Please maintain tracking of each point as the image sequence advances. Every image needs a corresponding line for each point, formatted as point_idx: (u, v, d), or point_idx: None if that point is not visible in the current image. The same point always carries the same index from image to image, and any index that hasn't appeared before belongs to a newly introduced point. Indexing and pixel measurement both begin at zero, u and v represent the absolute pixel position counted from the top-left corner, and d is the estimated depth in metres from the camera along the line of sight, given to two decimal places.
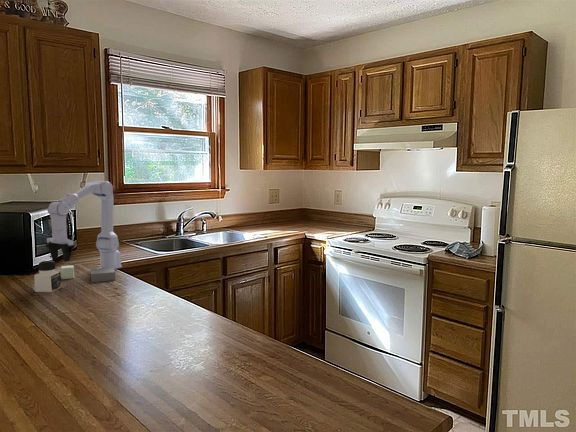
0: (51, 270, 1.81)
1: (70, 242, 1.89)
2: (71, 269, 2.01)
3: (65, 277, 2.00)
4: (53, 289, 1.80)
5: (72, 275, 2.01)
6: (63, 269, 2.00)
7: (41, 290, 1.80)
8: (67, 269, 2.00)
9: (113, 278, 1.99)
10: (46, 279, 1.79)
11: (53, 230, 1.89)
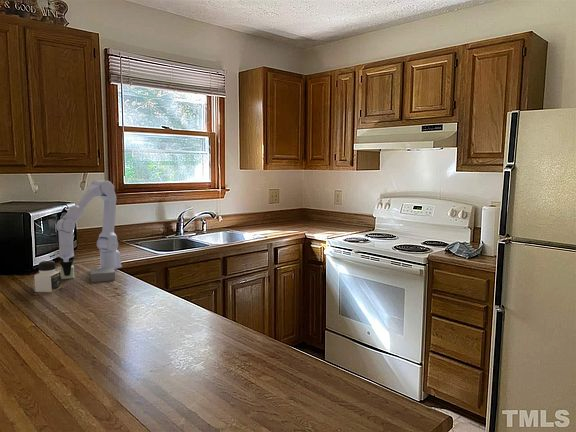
0: (51, 270, 1.81)
1: (64, 259, 1.95)
2: (71, 269, 2.01)
3: (65, 277, 2.00)
4: (53, 289, 1.80)
5: (72, 275, 2.01)
6: None
7: (41, 290, 1.80)
8: None
9: (113, 278, 1.99)
10: (46, 279, 1.79)
11: (59, 245, 2.00)
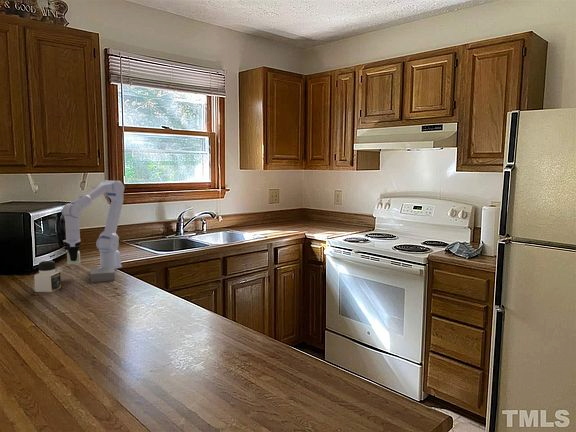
0: (51, 270, 1.81)
1: (71, 244, 1.94)
2: (77, 254, 2.00)
3: (71, 262, 1.99)
4: (53, 289, 1.80)
5: (78, 260, 2.00)
6: None
7: (41, 290, 1.80)
8: None
9: (113, 278, 1.99)
10: (46, 279, 1.79)
11: None
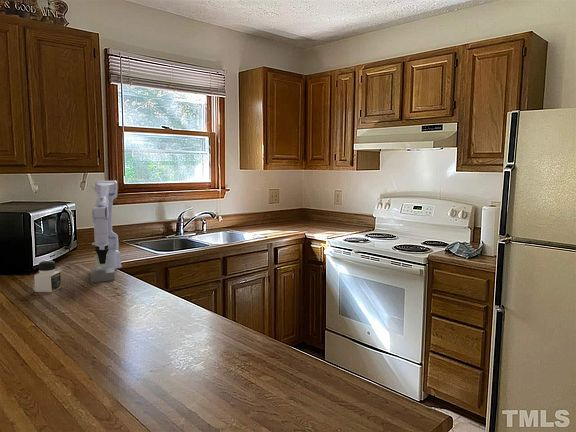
0: (51, 270, 1.81)
1: (100, 246, 1.93)
2: None
3: (99, 266, 1.98)
4: (53, 289, 1.80)
5: (106, 264, 1.99)
6: (97, 257, 1.98)
7: (41, 290, 1.80)
8: None
9: (112, 278, 1.99)
10: (46, 279, 1.79)
11: (94, 233, 1.98)
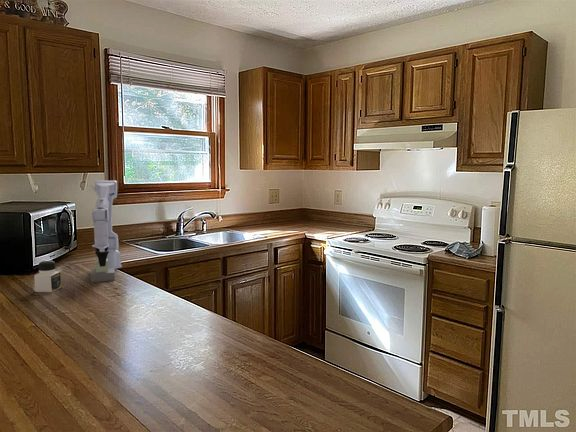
0: (51, 270, 1.81)
1: (100, 249, 1.93)
2: None
3: (100, 270, 1.99)
4: (53, 289, 1.80)
5: (106, 268, 2.00)
6: (98, 262, 1.98)
7: (41, 290, 1.80)
8: None
9: (113, 278, 1.99)
10: (46, 279, 1.79)
11: None
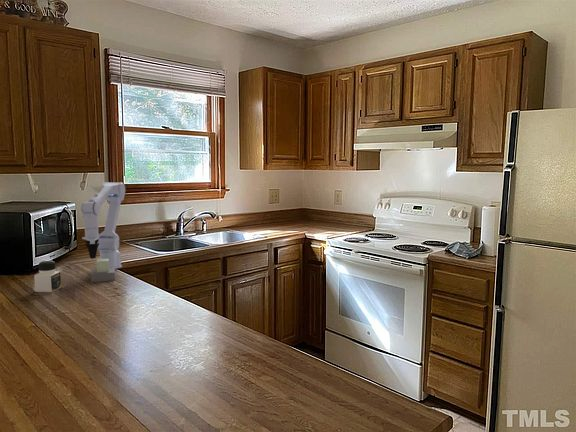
0: (51, 270, 1.81)
1: (91, 241, 1.96)
2: (106, 262, 1.99)
3: (100, 270, 1.99)
4: (53, 289, 1.80)
5: (107, 268, 2.00)
6: (98, 262, 1.98)
7: (41, 290, 1.80)
8: (102, 262, 1.99)
9: (113, 278, 1.99)
10: (46, 279, 1.79)
11: None
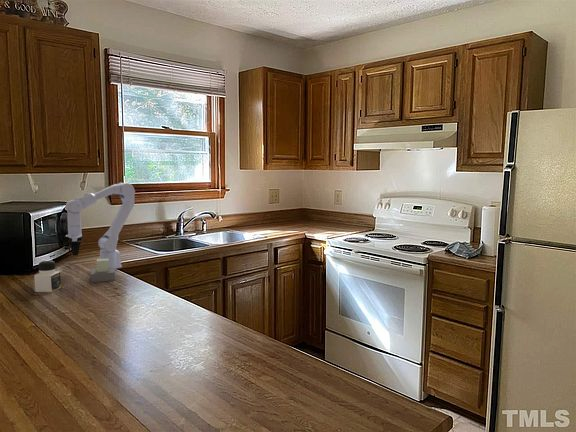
0: (51, 270, 1.81)
1: (73, 238, 2.01)
2: (107, 262, 1.99)
3: (101, 270, 1.99)
4: (53, 289, 1.80)
5: (108, 268, 2.00)
6: (99, 262, 1.98)
7: (41, 290, 1.80)
8: (103, 262, 1.99)
9: (113, 278, 1.99)
10: (46, 279, 1.79)
11: None
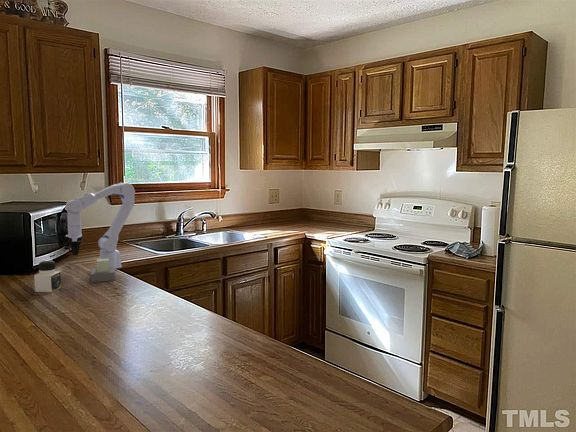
0: (51, 270, 1.81)
1: (73, 238, 2.01)
2: (107, 262, 1.99)
3: (101, 270, 1.99)
4: (53, 289, 1.80)
5: (108, 268, 2.00)
6: (99, 262, 1.98)
7: (41, 290, 1.80)
8: (103, 262, 1.99)
9: (113, 278, 1.99)
10: (46, 279, 1.79)
11: None
